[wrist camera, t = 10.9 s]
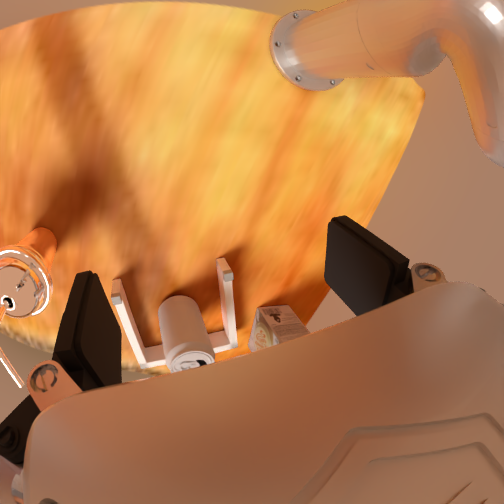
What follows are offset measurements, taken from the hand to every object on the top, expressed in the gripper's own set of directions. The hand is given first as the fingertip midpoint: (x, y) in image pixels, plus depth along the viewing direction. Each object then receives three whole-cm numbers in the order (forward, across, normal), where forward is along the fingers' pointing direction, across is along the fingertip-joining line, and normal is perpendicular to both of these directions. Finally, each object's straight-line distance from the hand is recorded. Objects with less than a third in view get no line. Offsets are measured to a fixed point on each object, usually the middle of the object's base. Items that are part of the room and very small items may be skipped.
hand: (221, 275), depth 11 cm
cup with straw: (+26, +20, +7) cm, 33 cm away
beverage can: (+26, +4, +22) cm, 35 cm away
